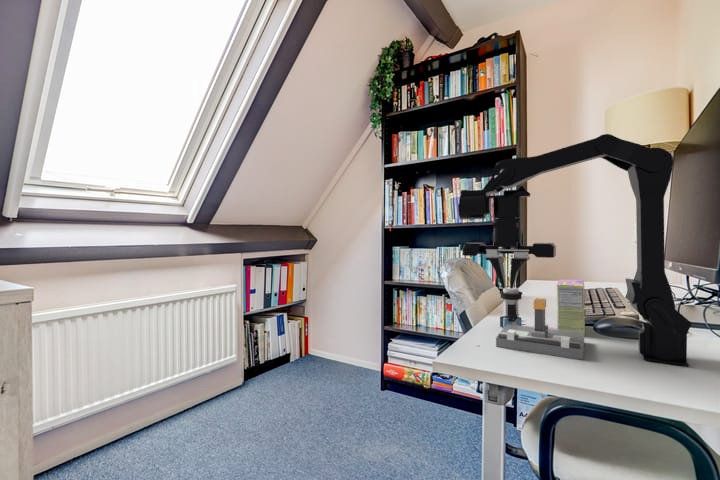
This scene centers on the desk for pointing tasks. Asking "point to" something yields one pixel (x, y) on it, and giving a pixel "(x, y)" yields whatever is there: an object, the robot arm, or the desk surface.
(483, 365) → the desk surface
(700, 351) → the desk surface
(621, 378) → the desk surface
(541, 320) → the lever
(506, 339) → the breaker panel
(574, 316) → the box
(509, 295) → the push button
